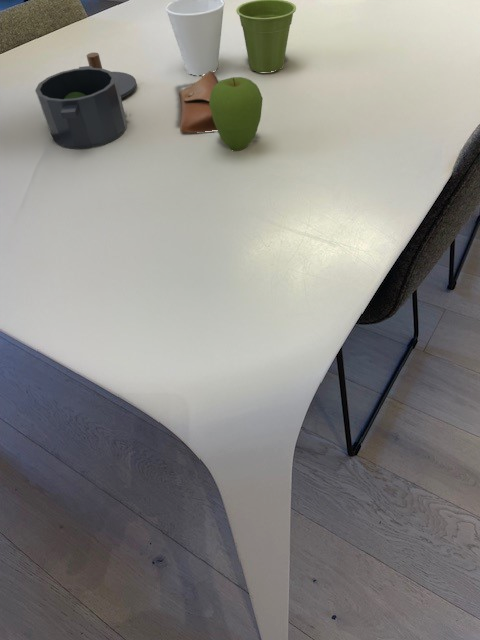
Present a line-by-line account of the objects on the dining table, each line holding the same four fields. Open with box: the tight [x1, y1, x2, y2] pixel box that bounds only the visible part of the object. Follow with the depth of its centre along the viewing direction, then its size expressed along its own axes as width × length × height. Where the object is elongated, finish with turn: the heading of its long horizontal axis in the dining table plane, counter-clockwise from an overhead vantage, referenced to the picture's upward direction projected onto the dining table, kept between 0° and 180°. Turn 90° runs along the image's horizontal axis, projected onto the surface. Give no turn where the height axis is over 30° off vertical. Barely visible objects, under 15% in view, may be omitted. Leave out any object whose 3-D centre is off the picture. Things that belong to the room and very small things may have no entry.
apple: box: [209, 76, 264, 152], centre depth 79 cm, size 9×8×12 cm
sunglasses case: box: [178, 71, 219, 134], centre depth 92 cm, size 18×7×7 cm
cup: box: [164, 0, 225, 76], centre depth 103 cm, size 12×12×12 cm
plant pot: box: [235, 0, 297, 73], centre depth 102 cm, size 12×12×11 cm
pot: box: [34, 65, 128, 150], centre depth 88 cm, size 14×19×8 cm
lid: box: [86, 52, 137, 99], centre depth 100 cm, size 15×15×7 cm
